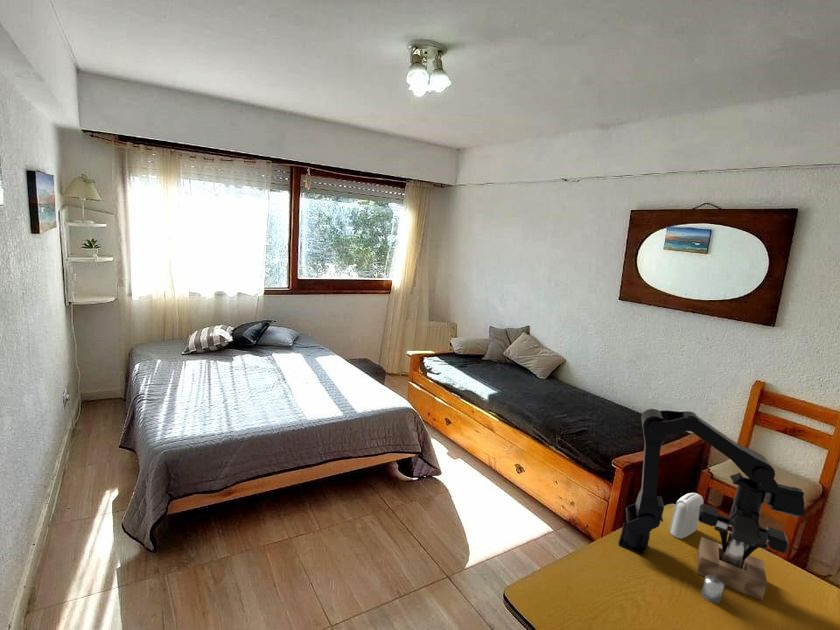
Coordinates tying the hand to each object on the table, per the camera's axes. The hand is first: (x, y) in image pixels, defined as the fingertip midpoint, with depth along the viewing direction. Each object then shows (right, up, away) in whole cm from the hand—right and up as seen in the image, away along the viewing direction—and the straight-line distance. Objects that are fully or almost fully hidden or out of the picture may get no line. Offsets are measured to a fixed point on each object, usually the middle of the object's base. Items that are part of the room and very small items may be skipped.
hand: (733, 555), depth 118 cm
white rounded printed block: (-3, -3, +18) cm, 18 cm away
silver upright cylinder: (0, -3, +1) cm, 3 cm away
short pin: (-10, -6, -7) cm, 14 cm away
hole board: (-1, -6, +1) cm, 6 cm away
